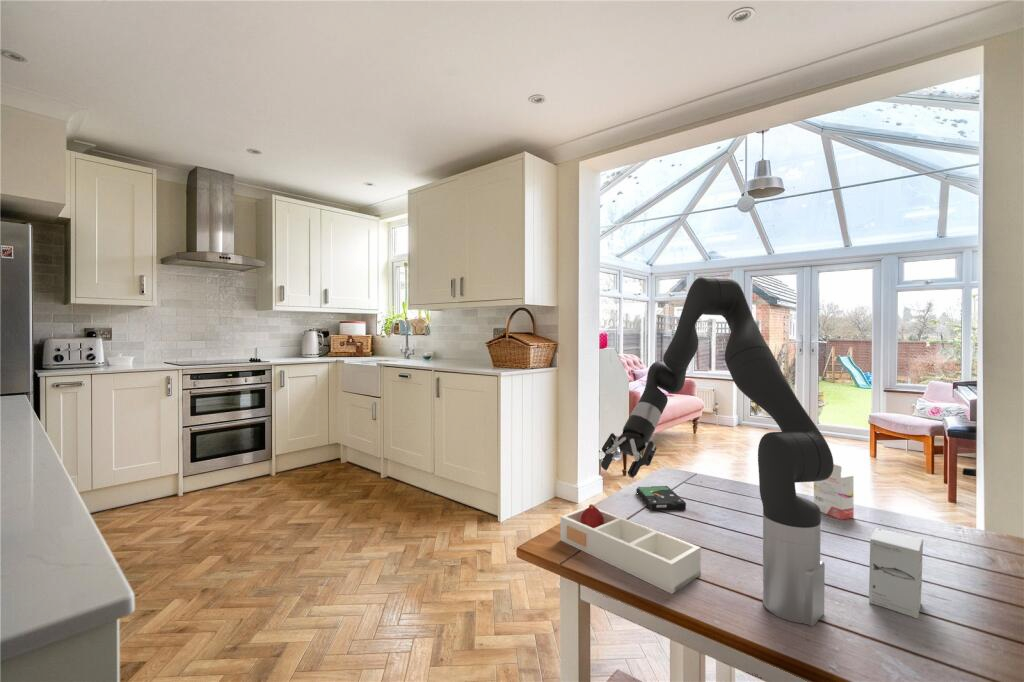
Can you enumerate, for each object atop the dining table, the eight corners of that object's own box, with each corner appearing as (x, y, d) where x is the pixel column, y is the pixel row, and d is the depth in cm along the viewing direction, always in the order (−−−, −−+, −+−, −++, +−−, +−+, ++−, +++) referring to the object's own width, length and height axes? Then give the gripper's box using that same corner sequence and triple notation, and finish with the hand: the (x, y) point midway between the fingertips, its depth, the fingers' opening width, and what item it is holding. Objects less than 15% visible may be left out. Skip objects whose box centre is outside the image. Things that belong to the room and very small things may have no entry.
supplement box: (867, 603, 89) (868, 537, 88) (874, 588, 94) (874, 526, 93) (919, 620, 83) (919, 550, 83) (922, 603, 88) (923, 537, 88)
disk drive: (686, 512, 135) (667, 493, 150) (687, 502, 135) (667, 485, 150) (651, 513, 134) (635, 494, 149) (651, 503, 134) (635, 485, 149)
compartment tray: (700, 575, 99) (700, 547, 99) (670, 594, 92) (670, 564, 92) (590, 528, 123) (589, 505, 123) (559, 540, 116) (559, 516, 116)
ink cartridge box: (854, 518, 128) (855, 465, 128) (841, 520, 127) (841, 466, 126) (825, 506, 136) (825, 457, 136) (812, 509, 135) (812, 458, 134)
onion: (585, 528, 120) (585, 498, 120) (607, 533, 117) (607, 502, 117) (577, 537, 115) (576, 505, 115) (599, 543, 112) (599, 510, 112)
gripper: (615, 410, 132) (588, 458, 125) (659, 417, 121) (633, 470, 114) (627, 426, 136) (601, 473, 129) (670, 434, 125) (645, 486, 118)
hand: (616, 472), depth 121 cm, fingers open, 8 cm apart
